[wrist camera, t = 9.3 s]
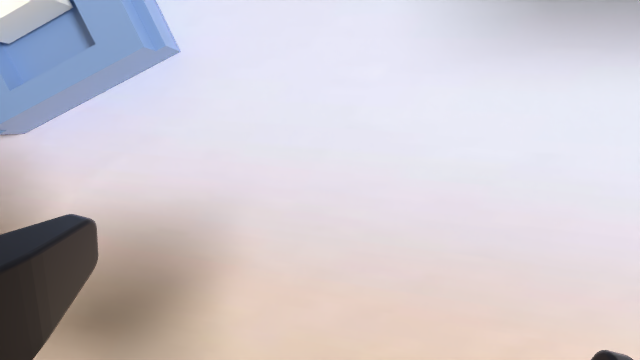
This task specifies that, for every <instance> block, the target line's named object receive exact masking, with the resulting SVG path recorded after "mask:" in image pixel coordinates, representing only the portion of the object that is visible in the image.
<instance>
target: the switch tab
mask: <svg viewBox="0 0 640 360" xmlns="http://www.w3.org/2000/svg"><path fill="white" fill-rule="evenodd" d="M71 8H73V6H72V4H71V2H70V0H0V42H3V43H8V44H10V43H11V42H13V41H15V40H17V39H19V38H20V37H22V36H24V35H26V34H27V33H29V32H31V31H33V30H34V29H36V28H38V27H40V26H41V25H43V24H45V23H47V22H49V21H50V20H52V19H54V18H56V17H57V16H59V15H61V14H63V13H64V12H66V11H68V10H70V9H71Z"/></svg>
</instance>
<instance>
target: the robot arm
mask: <svg viewBox="0 0 640 360" xmlns="http://www.w3.org/2000/svg"><path fill="white" fill-rule="evenodd" d="M97 260H98V242H97V227H96V223H95V221H94V220H92V219H90V218H86V217H82V216H78V215H74V214H68V215H64V216H61V217H58V218H55V219H51V220H48V221H45V222H41V223H38V224H35V225H31V226H28V227H25V228H21V229H18V230H15V231H11V232H8V233H5V234H1V235H0V360H33V358H34V357H35V356H36V354H37V353H38V352H39V351H40V349H41V348H42V347H43V345H44V344H45V343H46V341H47V340H48V338H49V337H50V335H51V334H52V333H53V331H54V330H55V328H56V326H57V325H58V323H59V322H60V320H61V319H62V317H63V316H64V314H65V313H66V311H67V310H68V308H69V307H70V305H71V304H72V302H73V301H74V299H75V297H76V296H77V294H78V293H79V291H80V290H81V288H82V287H83V285H84V284H85V282H86V281H87V279H88V278H89V276H90V275H91V273H92V272H93V270H94V268H95V266H96V264H97ZM591 360H633V359H632V358H630V357H628V356H626V355H624V354H620V353H616V352H612V351H608V350H601V351H599V352H597V353H596V354H595V355H594V357H593V358H592V359H591Z"/></svg>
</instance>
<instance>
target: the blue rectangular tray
mask: <svg viewBox="0 0 640 360" xmlns="http://www.w3.org/2000/svg"><path fill="white" fill-rule="evenodd" d="M70 2H71V4H72V6H73V8H71V9H70V10H68V11H66V12H64V13H63V14H61V15H59V16H57V17H56V18H54V19H52V20H50V21H49V22H47V23H45V24H43V25H41V26H40V27H38V28H36V29H34V30H33V31H31V32H29V33H27V34H26V35H24V36H22V37H20V38H19V39H17V40H15V41H13V42H11V43H10V44H8V43H3V42H0V135H3V134H25V133H27V132H28V131H30V130H32V129H34V128H36V127H38V126H40V125H42V124H44V123H46V122H47V121H49V120H51V119H53V118H55V117H57V116H59V115H61V114H63V113H65V112H66V111H68V110H70V109H72V108H74V107H76V106H78V105H80V104H82V103H84V102H86V101H87V100H89V99H91V98H93V97H95V96H97V95H99V94H101V93H103V92H105V91H106V90H108V89H110V88H112V87H114V86H116V85H118V84H120V83H122V82H124V81H125V80H127V79H129V78H131V77H133V76H135V75H137V74H139V73H141V72H143V71H144V70H146V69H148V68H150V67H152V66H154V65H156V64H158V63H160V62H162V61H163V60H165V59H167V58H169V57H171V56H173V55H175V54H177V53H179V52H180V50H179V48H178V46H177V44H176V41H175V39H174V37H173V35H172V33H171V31H170V29H169V27H168V25H167V23H166V21H165V19H164V17H163V15H162V13H161V11H160V9H159V7H158V4H157V2H156V0H70Z"/></svg>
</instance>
